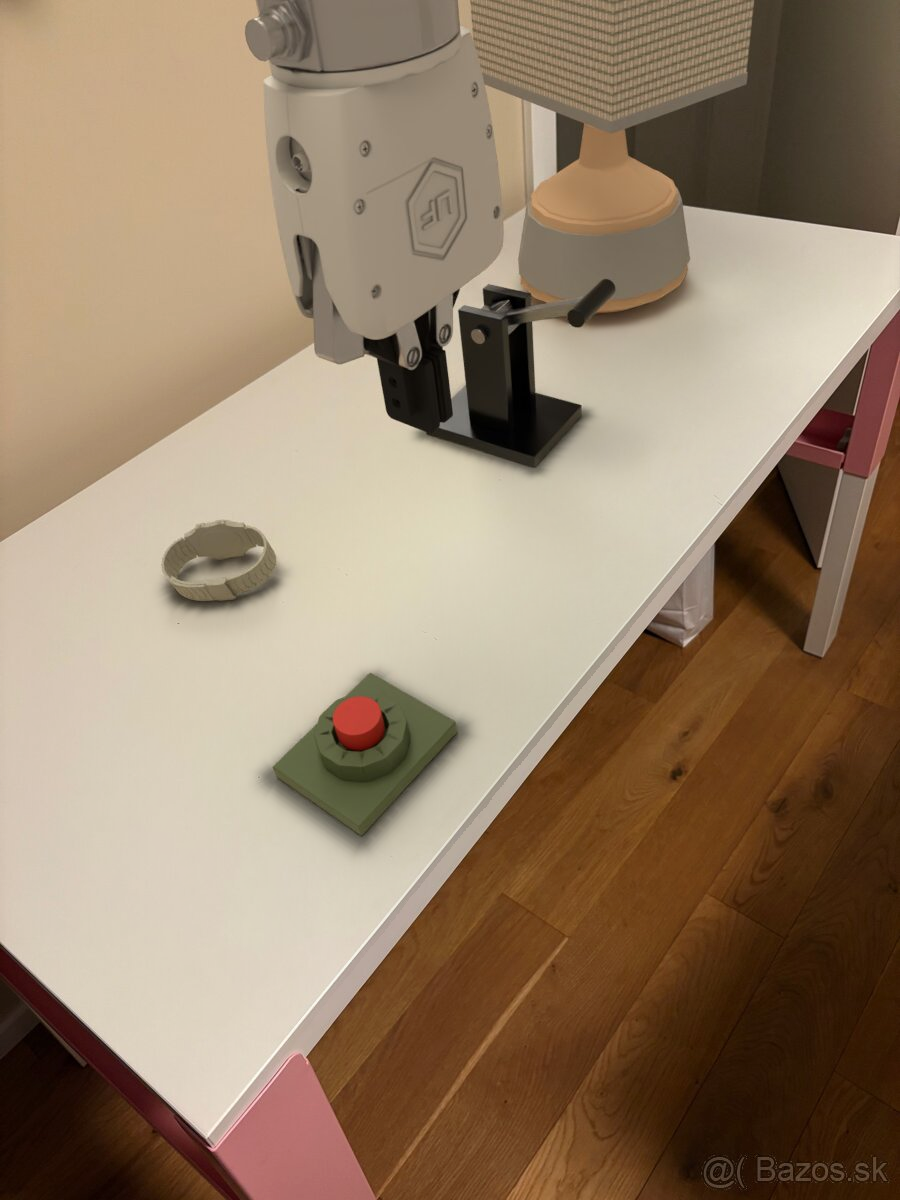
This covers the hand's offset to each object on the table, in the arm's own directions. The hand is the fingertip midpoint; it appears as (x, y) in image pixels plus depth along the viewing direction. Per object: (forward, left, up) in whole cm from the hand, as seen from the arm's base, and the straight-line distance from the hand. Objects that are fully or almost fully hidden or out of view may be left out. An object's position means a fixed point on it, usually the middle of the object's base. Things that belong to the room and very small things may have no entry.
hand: (420, 417), depth 49 cm
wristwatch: (+18, -18, -25) cm, 36 cm away
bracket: (-8, -34, -25) cm, 43 cm away
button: (+7, +2, -23) cm, 24 cm away
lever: (-12, -31, -13) cm, 36 cm away
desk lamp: (-23, -58, -25) cm, 67 cm away
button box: (+7, +2, -25) cm, 26 cm away
